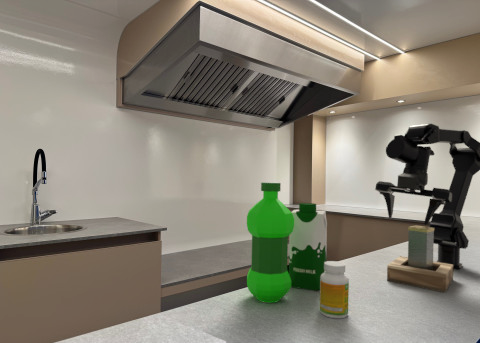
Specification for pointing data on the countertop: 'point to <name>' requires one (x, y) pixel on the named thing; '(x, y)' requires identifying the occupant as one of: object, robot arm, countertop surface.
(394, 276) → the caddy
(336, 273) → the supplement bottle
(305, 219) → the milk carton
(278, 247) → the plastic bottle
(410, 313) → the countertop surface
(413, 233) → the tea canister
